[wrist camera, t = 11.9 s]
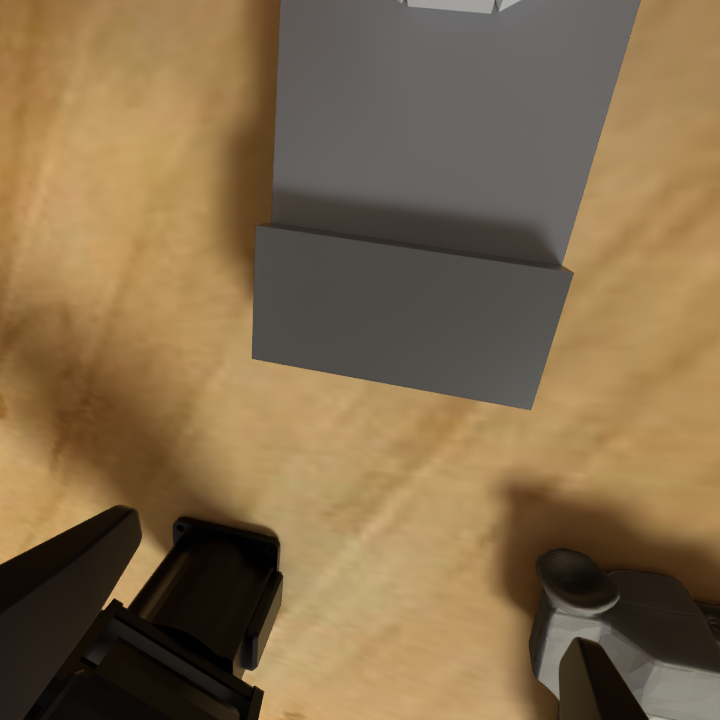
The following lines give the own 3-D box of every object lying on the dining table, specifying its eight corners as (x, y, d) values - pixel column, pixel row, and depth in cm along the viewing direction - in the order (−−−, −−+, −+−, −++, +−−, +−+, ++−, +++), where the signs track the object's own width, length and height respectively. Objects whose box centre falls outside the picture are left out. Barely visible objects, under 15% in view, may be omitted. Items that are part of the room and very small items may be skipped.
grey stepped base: (284, 338, 21) (251, 370, 17) (331, -445, 12) (283, -724, 8) (510, 378, 20) (527, 422, 16) (745, -456, 11) (903, -787, 7)
